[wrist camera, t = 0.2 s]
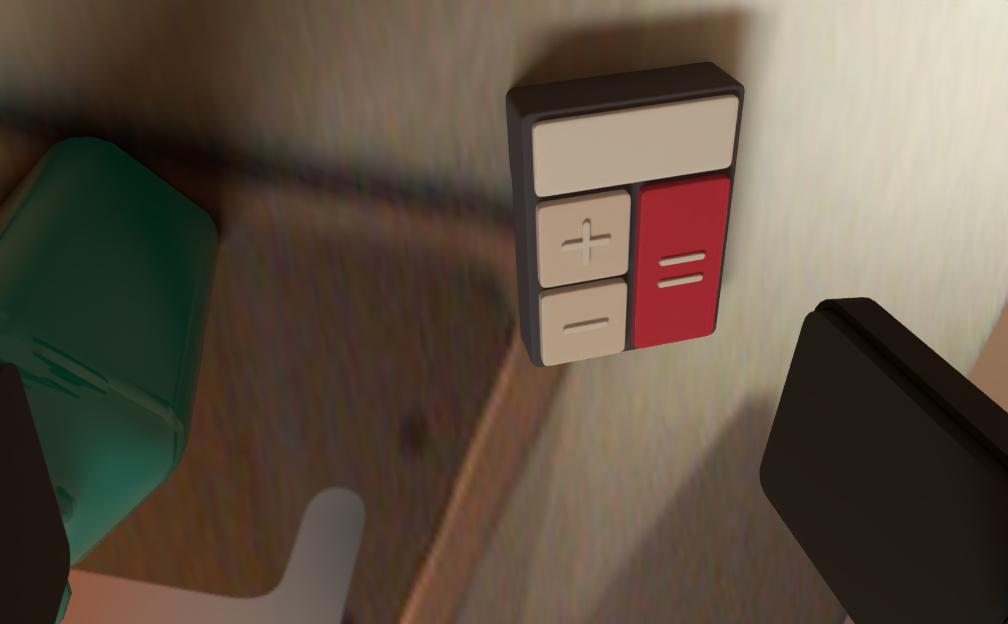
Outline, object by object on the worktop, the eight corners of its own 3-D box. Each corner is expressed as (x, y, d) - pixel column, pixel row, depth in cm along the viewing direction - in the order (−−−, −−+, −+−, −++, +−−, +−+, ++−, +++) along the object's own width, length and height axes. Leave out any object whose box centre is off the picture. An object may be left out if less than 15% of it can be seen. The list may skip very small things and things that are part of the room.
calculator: (535, 378, 45) (525, 120, 36) (517, 333, 48) (504, 87, 40) (721, 343, 47) (754, 87, 38) (691, 301, 50) (715, 59, 41)
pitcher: (238, 230, 40) (196, 584, 22) (129, 340, 42) (9, 752, 24) (52, 92, 35) (-203, 403, 17) (-62, 224, 37) (-403, 635, 19)
